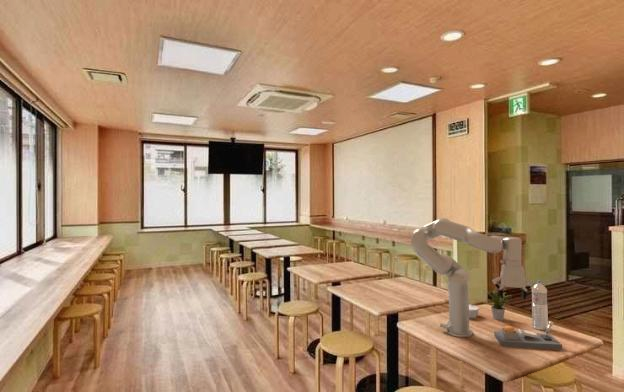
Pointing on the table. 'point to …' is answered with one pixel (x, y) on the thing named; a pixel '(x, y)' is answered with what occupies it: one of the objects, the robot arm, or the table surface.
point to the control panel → (526, 340)
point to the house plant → (498, 306)
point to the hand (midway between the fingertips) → (512, 298)
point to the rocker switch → (527, 333)
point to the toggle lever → (548, 328)
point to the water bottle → (539, 307)
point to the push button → (509, 329)
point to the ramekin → (473, 311)
